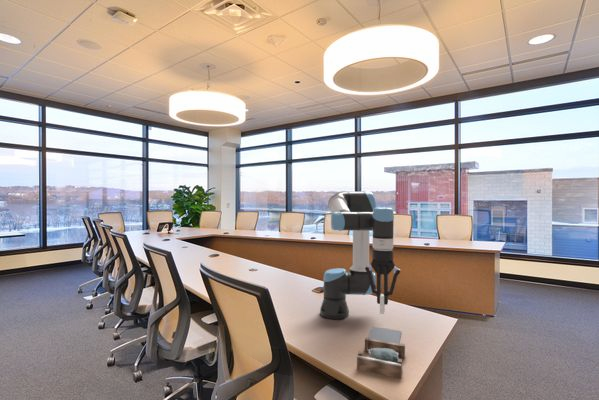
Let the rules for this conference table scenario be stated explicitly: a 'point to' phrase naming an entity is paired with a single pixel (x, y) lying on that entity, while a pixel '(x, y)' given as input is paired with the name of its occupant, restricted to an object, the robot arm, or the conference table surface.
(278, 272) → the conference table surface
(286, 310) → the conference table surface
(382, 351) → the packaged food
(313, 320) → the conference table surface
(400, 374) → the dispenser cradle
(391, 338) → the slate mat
